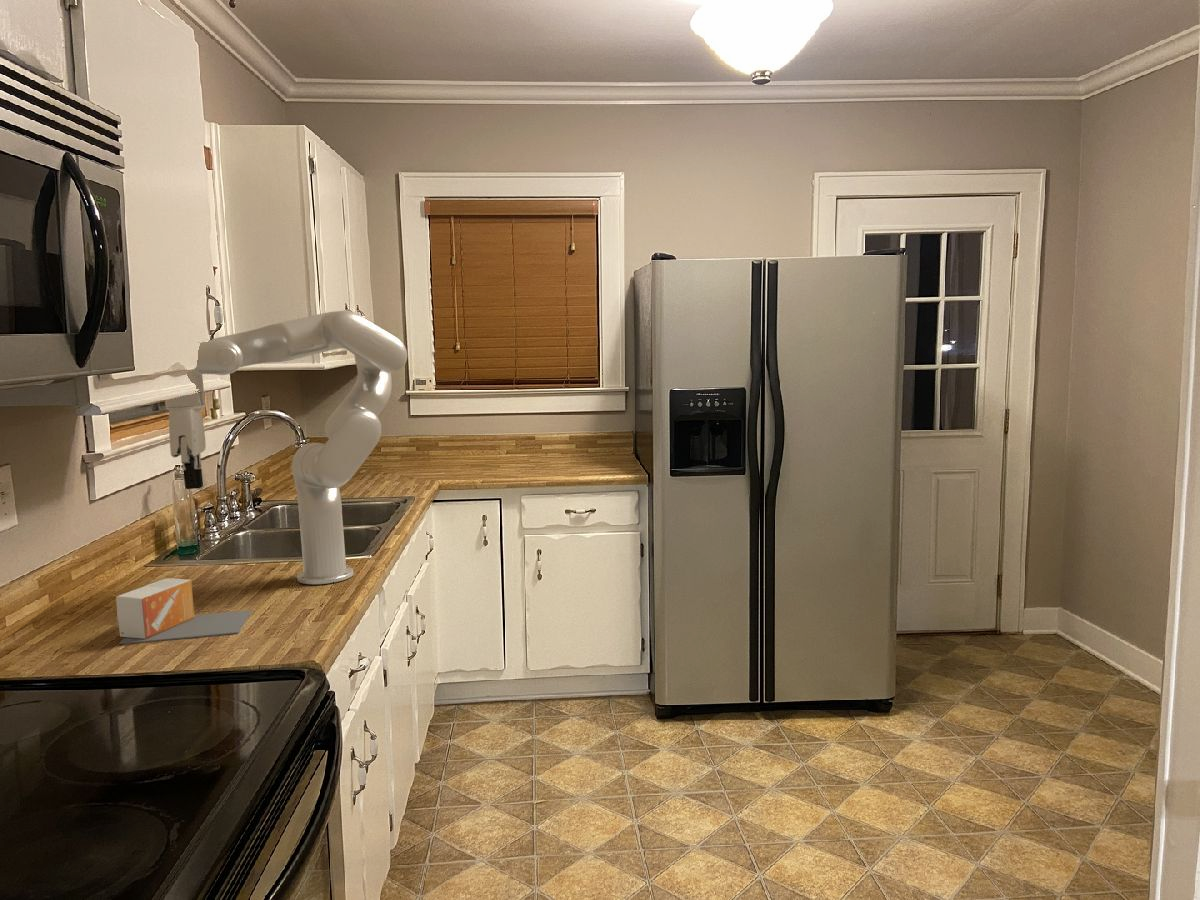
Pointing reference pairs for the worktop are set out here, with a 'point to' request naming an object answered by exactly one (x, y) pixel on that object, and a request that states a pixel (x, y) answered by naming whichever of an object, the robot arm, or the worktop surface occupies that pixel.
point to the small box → (154, 608)
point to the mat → (200, 627)
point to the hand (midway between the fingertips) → (194, 487)
